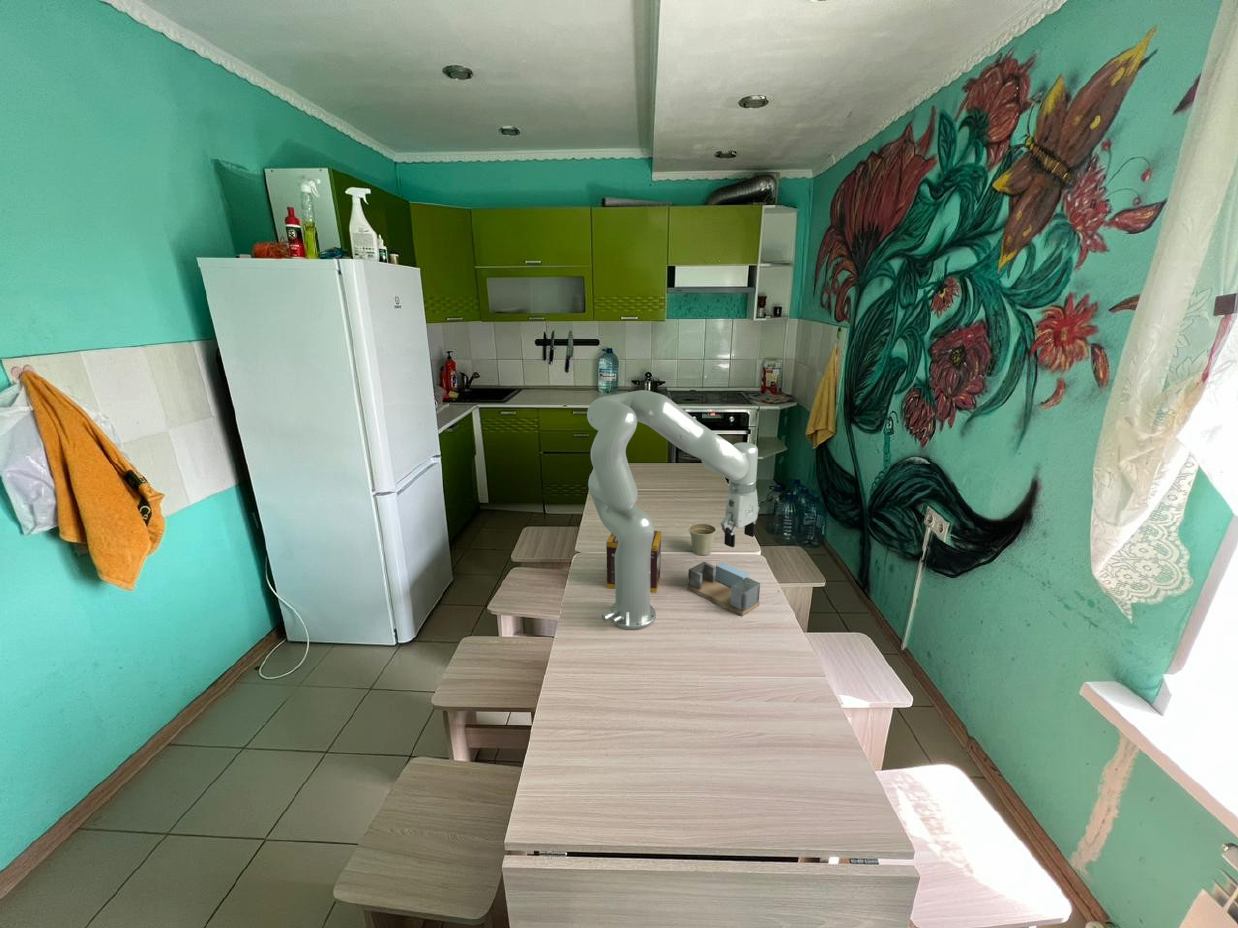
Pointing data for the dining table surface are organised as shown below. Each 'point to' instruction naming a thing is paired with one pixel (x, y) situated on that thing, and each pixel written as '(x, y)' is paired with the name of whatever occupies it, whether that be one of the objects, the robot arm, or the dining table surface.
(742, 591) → the grey concrete block
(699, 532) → the flower pot
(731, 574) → the light blue block
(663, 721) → the dining table surface
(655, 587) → the supplement box
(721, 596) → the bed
